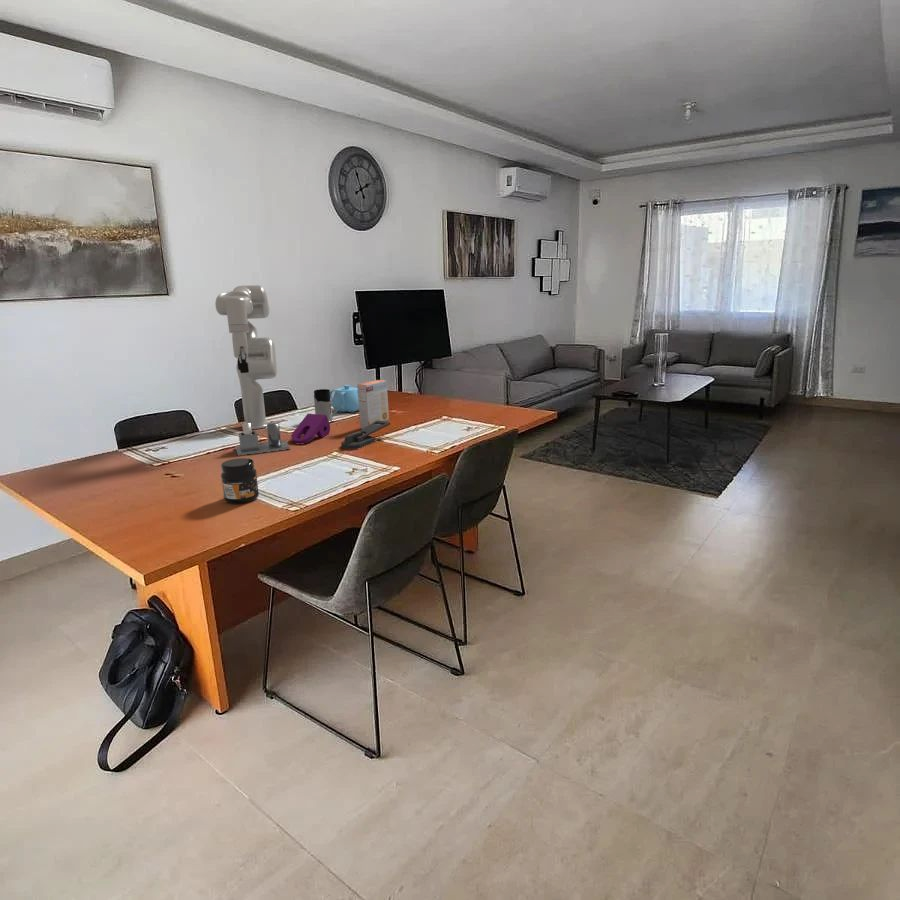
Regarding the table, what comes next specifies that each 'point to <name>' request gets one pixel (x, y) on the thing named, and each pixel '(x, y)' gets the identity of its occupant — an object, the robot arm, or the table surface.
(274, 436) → the grey fixture stand
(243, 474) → the supplement container
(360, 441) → the zipper pull
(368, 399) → the cracker box
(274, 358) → the robot arm
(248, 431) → the locking pin
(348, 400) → the decorative pot
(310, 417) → the mounting bracket
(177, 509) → the table surface
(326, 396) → the black and grey mug
